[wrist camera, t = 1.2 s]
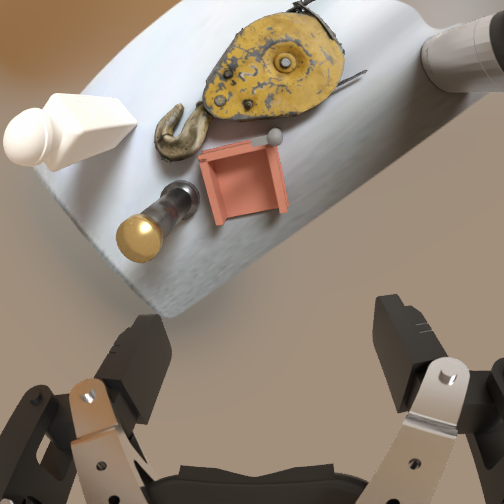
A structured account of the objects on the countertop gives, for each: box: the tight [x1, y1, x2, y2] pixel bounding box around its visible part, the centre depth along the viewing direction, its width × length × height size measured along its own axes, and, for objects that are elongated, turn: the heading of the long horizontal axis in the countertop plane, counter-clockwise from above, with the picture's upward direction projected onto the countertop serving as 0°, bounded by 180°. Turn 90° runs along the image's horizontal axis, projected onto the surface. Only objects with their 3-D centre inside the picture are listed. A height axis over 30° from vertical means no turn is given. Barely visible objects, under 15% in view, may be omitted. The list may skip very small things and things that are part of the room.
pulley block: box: [154, 0, 368, 164], centre depth 35 cm, size 14×6×30 cm
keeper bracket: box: [198, 127, 289, 226], centre depth 37 cm, size 11×11×11 cm
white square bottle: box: [3, 93, 137, 172], centre depth 30 cm, size 6×6×22 cm
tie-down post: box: [116, 180, 200, 263], centre depth 37 cm, size 6×6×16 cm
